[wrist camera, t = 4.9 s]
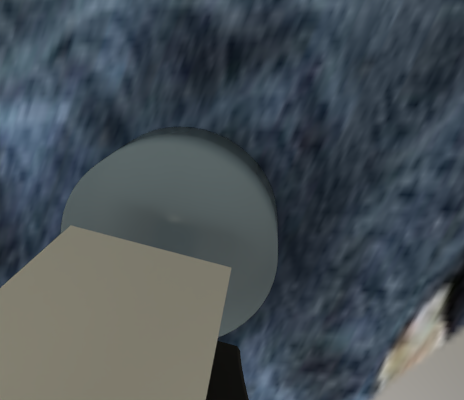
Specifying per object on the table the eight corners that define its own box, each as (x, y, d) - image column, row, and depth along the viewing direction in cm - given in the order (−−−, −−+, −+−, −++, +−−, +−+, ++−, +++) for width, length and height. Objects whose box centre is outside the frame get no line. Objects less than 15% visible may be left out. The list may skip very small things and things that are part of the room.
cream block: (197, 391, 13) (138, 651, 8) (56, 354, 13) (-107, 585, 8) (231, 267, 12) (190, 480, 6) (70, 225, 12) (-123, 397, 6)
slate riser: (163, 320, 21) (142, 371, 18) (62, 184, 19) (17, 214, 16) (310, 249, 19) (317, 292, 15) (214, 88, 17) (199, 99, 14)
